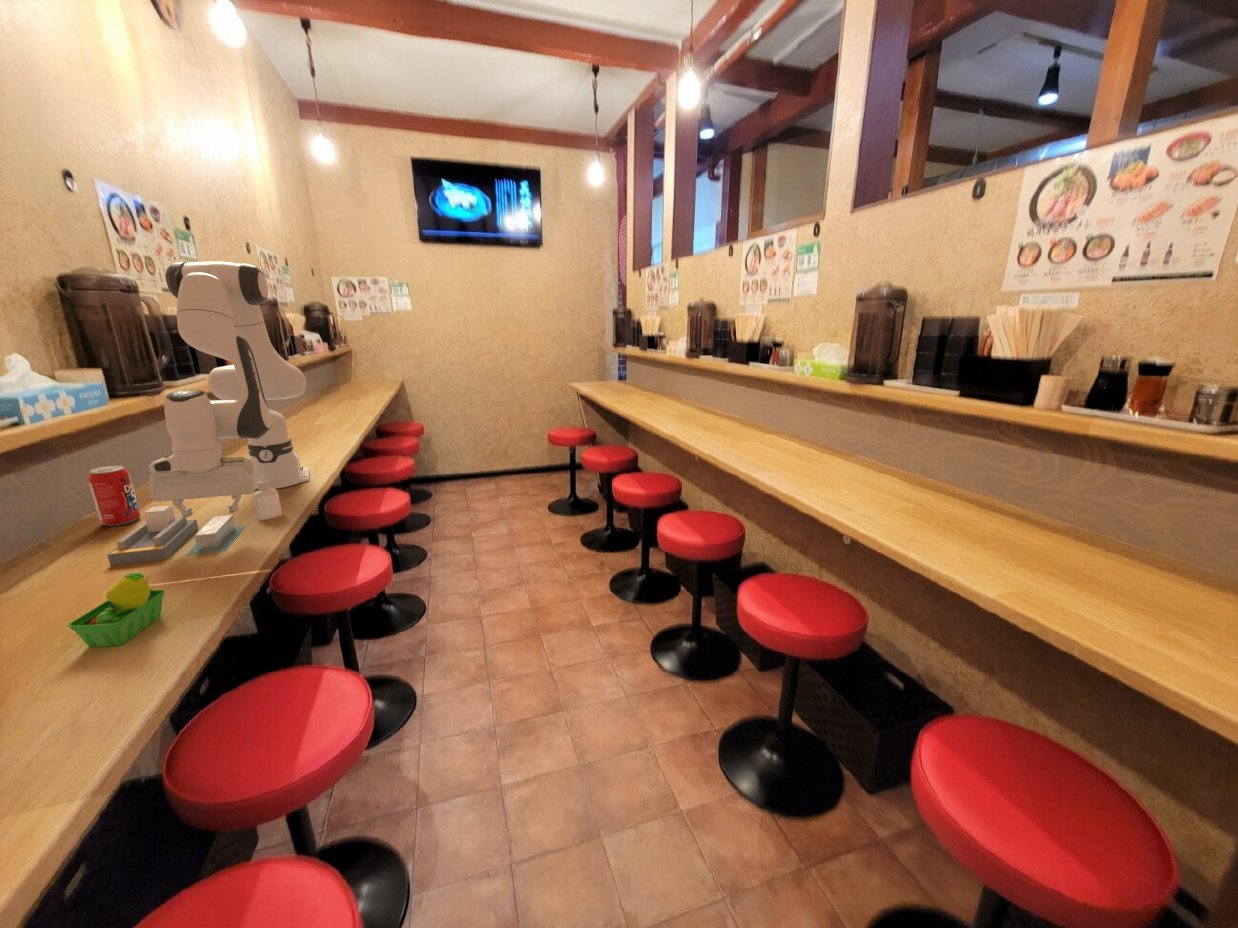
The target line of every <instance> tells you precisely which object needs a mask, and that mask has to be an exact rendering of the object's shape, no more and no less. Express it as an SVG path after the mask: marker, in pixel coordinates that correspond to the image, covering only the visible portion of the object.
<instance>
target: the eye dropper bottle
mask: <svg viewBox="0 0 1238 928" xmlns="http://www.w3.org/2000/svg"><path fill="white" fill-rule="evenodd" d="M258 485H259V489H258V490H256V491H254V492H253V495H252V497H253V502H254V506H255V509H254V510H255V513H256V518H257V520H259V521H267V520H272V519H275V518H278V517H281V516H283V512H282V507H281V506H282V505H281V501H280V494H279V491H278V490H277V488H276V489H273V488H270V485H269V481H267V480H265V478H264V477H261V481H259V482H258Z"/></svg>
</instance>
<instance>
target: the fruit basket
mask: <svg viewBox="0 0 1238 928" xmlns="http://www.w3.org/2000/svg"><path fill="white" fill-rule="evenodd" d="M164 595H165V589H151V588H150V585H149V584H148V582H147V579H146V578H145V575H144V574H142V573H141V572H138V571H137V572H130V573H127V574H126V575H125V576H124V577H123V578H122V579H121V580H120V581H118V582H117V583H115V584H114V585H112V586H111V588H109V590H108V591H107V593H106V596H105V597H106V601H104V602H102V603H101V604H99V605H97V606H96V607H94V608H93V609H91V610H89V611H88V612H85V614H83V615H81V616H79V617H77V619H75V620H72V621H71V622H70V623H68V625H67V627H69V629H70V630H72V631H74V632H75V634H76V635H78V637H79V638H80V639H81V640H82V641H83V643H84V644H86V645H87V647H88V648H92V647H93V648H94V647H112V646H117V647H118V646H122V645H123V644H125V643H126V642H128V641H127V640H130V639H131V638H133V637H135V636H136V635H137V634H138V633H140V632H141V631H142V630H144V629H146V628H147V627H149V626H150V625H151V624H152V623H153V622H156V621H157V620H158V619H159V618H161V614H162V606H163V601H164V600H163V599H164ZM156 619H157V620H156ZM152 621H153V622H152ZM150 623H151V624H150ZM149 624H150V625H149Z"/></svg>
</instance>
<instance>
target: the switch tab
mask: <svg viewBox="0 0 1238 928" xmlns="http://www.w3.org/2000/svg"><path fill="white" fill-rule="evenodd" d="M174 512H175V511H174V509H173V505H162V506H160V505H159V506H157V505H156V506H152V507H150V508H148V509H147V510H145V511H144V512H143V515H144V520H145V521H146V524H147V527H148V531H149V533H150V532H160V531H162V530H163V529H165V528H166V527H167V526H168V525H170V524H171V523H172V522H173V521H174V520H176V516H175V513H174Z"/></svg>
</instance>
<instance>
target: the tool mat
mask: <svg viewBox="0 0 1238 928" xmlns="http://www.w3.org/2000/svg"><path fill="white" fill-rule="evenodd" d="M247 526H248V524H247V525H238V526H236V525H235V528H236V529H235V531H234V532H233V533H232V534H231V535H230V536H229V537H228V538H227V540H226V541H225V542H224V543H223V544H222V545H221V546H220V548H219V549H211V550H202V551H198V548H197V543H195V544H194V545H193V547H191V549H190V550H188V551H187V552H186V553H185V554H184V556H185V557H189V556H195V555H196V556H197V555H204V554H214V553H223V552H226V551H227V550H228V549H229V547H231V546H232V544H233V543H234V542H235V540H237V538H238V537H239V536H240V535H241V534H242V532H243V531H244V530H245V529H246V528H247Z"/></svg>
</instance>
